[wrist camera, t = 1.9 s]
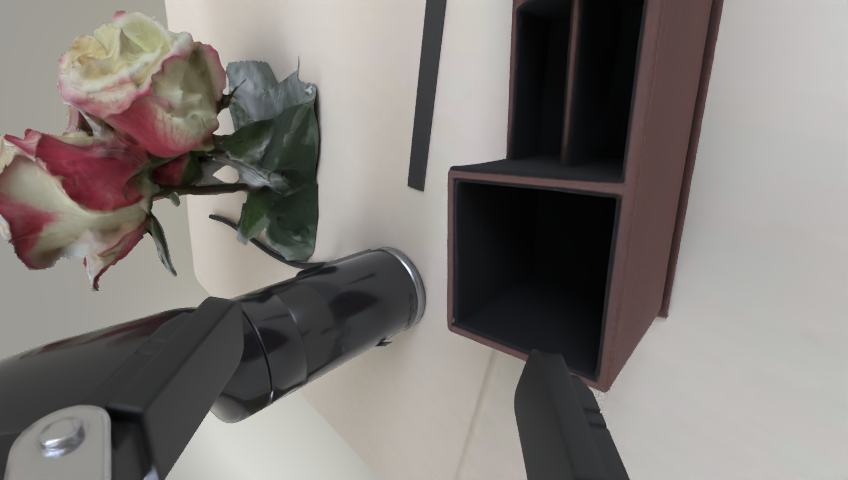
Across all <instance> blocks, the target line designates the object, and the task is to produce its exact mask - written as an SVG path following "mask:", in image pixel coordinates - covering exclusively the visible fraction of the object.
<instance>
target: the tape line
mask: <svg viewBox="0 0 848 480" xmlns="http://www.w3.org/2000/svg"><path fill="white" fill-rule="evenodd" d="M445 7H446V0H426V9H425V19H424V29H423V39H422V49H421V58H420V68H419V78H418V88H417V98H416V107H415V117H414V127H413V137H412V147H411V157H410V166H409V176H408V186H410V187H412V188H415V189H418V190H421V191H424V183H425V175H426V166H427V158H428V150H429V141H430V133H431V124H432V116H433V108H434V99H435V91H436V83H437V74H438V66H439V57H440V49H441V41H442V32H443V24H444V15H445Z"/></svg>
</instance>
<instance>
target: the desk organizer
mask: <svg viewBox="0 0 848 480" xmlns="http://www.w3.org/2000/svg"><path fill="white" fill-rule="evenodd" d="M722 6H723V0H513V11H512V32H511V56H510V80H509V109H508V131H507V156H506V159H503V160H498V161H492V162H486V163H480V164H473V165H465V166H453V167H451V168H450V170H449V172H448V239H447V246H448V283H447V321H448V329H449V330H450V331H451V332H454V333H456V334H459V335H461V336H464V337H467V338H469V339H472V340H474V341H476V342H479V343H481V344H484V345H487V346H489V347H492V348H494V349H497V350H499V351H502V352H504V353H507V354H509V355H512V356H514V357H517V358H519V359H522V360H524V361H527V359H528V356H529V354H530V352H531V351H532V350H533V349H536V350H542V351H548V352H554V353H560V354H561V355H562V356H563V358H564V360H565V363H566V365H567V368H568V371H569V373H570V375H576V376H579V377H580V378H581V379H582V380H583V382H584V383H585V384H586V385H588V386H590V387H592V388H595V389H597V390H599V391H602V392H604V393H605V392H607V391H608V390H610V387H611V385H612V384H613V382H614V380H615V379H616V377H617V376H618V374H619V373H620V371H621V369H622V368H623V366H624V365H625V363H626V362H627V360H628V358H629V357H630V356H631V354H632V352H633V351H634V349H635V348H636V346H637V344H638V343H639V341H640V340H641V338H642V337H643V336H644V334H645V333H646V331H647V330H648V328H649V326H650V325H651V323H652V322H653V320H654V319H655V317H656V316H657V317H663V318H667V317H668V307H669V302H670V296H671V291H672V286H673V280H674V274H675V268H676V263H677V258H678V253H679V247H680V241H681V235H682V230H683V225H684V219H685V214H686V209H687V203H688V197H689V192H690V184H691V179H692V174H693V169H694V164H695V159H696V153H697V147H698V142H699V136H700V131H701V123H702V118H703V113H704V108H705V101H706V95H707V90H708V84H709V79H710V74H711V69H712V63H713V58H714V51H715V45H716V41H717V35H718V30H719V24H720V19H721V12H722Z"/></svg>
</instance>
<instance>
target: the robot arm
mask: <svg viewBox="0 0 848 480" xmlns="http://www.w3.org/2000/svg"><path fill="white" fill-rule="evenodd" d="M209 218H211V219H214V220H217V221H220V222H223V223H225V224H227V225H229V226H231V227H232V228H234V229H235V228H236V229H235V230H236V231H237V229H238V228H237V227H236V226H237V225H236V224H234V223H233V222H231V221H229V220H227V219H225V218H222V217H219V216H215V215H212V214H211V215H209ZM250 241H251V242H252V243H253V244H255V245H256V246H257V247H259V248H260V249H261V250H263V251H264V252H266V253H267V254H269V255H270V256H272V257H274V258H276V259H277V260H279V261H281V262H283V263H285V264H288V265H290V266H293V267H297V268H301V269H305V270H302V271H300V272H298V273H297V275H296V277H294V278H291V279H288V280H285V281H282V282H279V283H276V284H273V285H270V286H267V287H264V288H261V289H258V290H255V291H252V292H249V293H246V294H243V295H240V296H237V297H234V298H231V299H223V298H217V297H208V298H207V299H205V300H204V301H203V302H202V303H201V305H200V306H199V307H189V308H179V309H173V310H168V311H164V312H160V313H156V314H153V315H149V316H146V317H142V318H138V319H135V320H131V321H127V322H124V323H120V324H116V325H113V326H109V327H106V328H101V329H97V330H94V331H90V332H86V333H82V334H78V335H75V336H71V337H67V338H63V339H60V340H57V341H53V342H50V343H46V344H42V345H39V346H36V347H33V348H30V349H28V350H24V351H21V352H19V353H16V354H13V355H11V356H8V357H6V358H3V359H1V360H0V480H165V478H166V476H167V475H168V473H169V472H170V470H171V469H172V467H173V466H174V464H175V463H176V461H177V459H178V458H179V456H180V455H181V453H182V452H183V450H184V449H185V447H186V445H187V444H188V442H189V441H190V439H191V438H192V436H193V435H194V433H195V432H196V430H197V429H198V427H199V425H200V424H201V422H202V421H203V419H204V418H205V416H206V415H207V413H208V412H209V410H210V411H211V412H212V413H213V414H214V415H215V416H216V417H217V418H218V419H220V420H221V421H223V422H226V423H236V422H239V421H241V420H244V419H246V418H247V417H249V416H251V415H253V414H255V413H256V412H258V411H260V410H262V409H263V408H265V407H267V406H269V405H271V404H273V403H274V402H276V401H278V400H280V399H281V398H283V397H285V396H287V395H289V394H291V393H292V392H294V391H296V390H298V389H299V388H301V387H303V386H305V385H306V384H308V383H310V382H312V381H313V380H315V379H317V378H319V377H321V376H322V375H324V374H326V373H328V372H329V371H331V370H333V369H335V368H337V367H338V366H340V365H342V364H344V363H345V362H347V361H349V360H351V359H353V358H354V357H356V356H358V355H360V354H362V353H363V352H365V351H367V350H369V349H370V348H372V347H374V346H386V345H388V344H389V343H391V342H383V341H385V340H386V339H388V338H390V337H392V336H394V335H395V334H397V333H399V332H400V331H403V330H406V329H408V328H410V327H412V326H413V325H415V324H416V323H417V322H418V321H419V320H420V318H421V317H422V314H423V311H424V306H425V294H424V288H423V284H422V281H421V279H420V276H419V274H418V272H417V270H416V268H415V267H414V265H413V264H412V263H411V261H410V260H409V259H408V258H407V257H406V256H405V255H404V254H402V253H401V252H399V251H398V250H395V249H393V248H389V247H383V248H379V249H376V250H373V251H372V250H371V249H368V250H365V251H362V252H358V253H355V254H352V255H349V256H346V257H343V258H340V259H337V260H334V261H330V262H320V263H300V262H296V261H292V260H286V259H285V257H283V256H281V255H279V254H277V253H275V252H274V251H272V250H270V249H269V248H267V247H266V246H264V245H263V244H262V243H260V242H259V241H258V240H256V239H255V238H251V239H250ZM514 409H515V415H516V421H517V426H518V431H519V436H520V442H521V447H522V452H523V458H524V463H525V468H526V473H527V479H528V480H630V479H629V477H628V474H627V472H626V470H625V467H624V465H623V463H622V460H621V458H620V456H619V453H618V451H617V449H616V446H615V444H614V442H613V439H612V437H611V434H610V432H609V430H608V429H607V428H606V423H605V420H604V418H603V416H602V414H600V409H599V406H598V404H597V402H596V399H595V397H594V394H593V392H592V391H591V390H590V389H589V388H588V386H587V385H586V384H585V383H584V382H583V380H582V379H581V378H580V377H579V376H576V375H570V373H569V371H568V368H567V365H566V363H565V360H564V358H563V356H562V355H561V354H560V353H554V352H548V351H542V350H536V349H533V350H532V351H531V352H530V354H529V356H528V359H527V361H526V364H525V367H524V369H523V372H522V375H521V377H520V380H519V382H518V385H517V388H516V392H515V399H514Z"/></svg>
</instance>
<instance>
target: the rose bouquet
mask: <svg viewBox="0 0 848 480" xmlns="http://www.w3.org/2000/svg"><path fill="white" fill-rule="evenodd" d="M226 68H227V70H226V73H225V70H224V69H223V67H222V65H221V63H220V59H219V55H218V52H217V51H216V50H215V49H213V48H212V46H211V45H207V44H202V43H201V42H193V39H192V36H191V34H190V33H188V32H181V33H174V32H171V31H167V30H166V29H165V28H164V27H163V26H162V25H161V24H160V23H159V22H158V21H157V20H156V19H155V16H153V17H148V16H146V15H144V14H142V13H140V12H125V11H117V12H115V14H114V16H113V18H112V24H111V23H109V24H108V26H107V25H105V24H103V25H102V26H101V27H100V28H99V29H96V30H95V32H94V37H90V36H85V35H82V36H78V37H76V38H75V39H74V42H73V44H72V45H71V47H70V48H69V51H68V52H67V53H64V54H62V55H61V57H60V59H59V76H58V77H59V80H58V85H57V88H58V91H59V92H60V94H61V96H62V100H63V103H64V104H67V105H68V113H67V122H68V127H67V130H66V132H65V133H64V134H63V135H62V136H56V135H50V134H45V133H40V132H38V131H33V130H31V129H26V130H25V138H24V140H23V139H20V138H18V137H15V136H11V135H7V134H3V135H0V233H1V235H2V236H3V238H5V240H6V241H8V243H12V244H11V245H13V247H12V248H13V250H14V251H15V253H16V254H17V257H18V259H20V260H21V261H22V262H23V263H24V264H25V266H26V267H27V268H28V269H29V270H39V269H46V268H51V267H53V266H54V265H55V263H56V261H57V260H59V259H60V257H66V258H68V259H71V258H72V257H73V256H74V257H76V258H84V265H85V270H86V272H87V273H88V275H89V277H90V279H89V282H90V284H91V286H92V291H98V289H97V288H99V285H98V283H97V282H98V281H99V277H100V276H101V275H102V274H103V273H104V272H105V271H106V270H107V269H108V268H109V267H110V265H115V264H116V263H117V262H118V261H119V260H121V259H123V258H124V257H126V256H127V255H128V253H129V252H130V251H131V250H132V249H133V247H134V246H136V245H137V243H138V242H139V241H140V240H141V239H142V238H143V235H144V234H146V233H147V232H148V233H149V234H150V235H151V236H152V237H153V239H154V241H155V243H156V246H157V251H158V255H159V258H160V259H161V261H162V263H163V264H164V265H165V267H166V268H167V270H168V271H169V272H170V274H171V275H173V276H176V275H177V273H176V271H175V269H174V267H173V266H172V263H171V259H170V255H169V251H168V246H167V242H166V239H165V235H164V231H163V229H162V226H161V224H160V223H159V222H158V220H157V219H156V217H155V216H154V215H153V214H152V212H151V209H152V205H153V201H156V200H159V199H163V198H168V199H170V200H171V202H172V203H173V205H175V206H179V204H180V201H179V196H180V195H187V194H192V195H218V194H222V193H234V192H236V191H243V192H245V193H246V194H247V201H246V203H243V206H242V212H241V217H240V220H239V222H238V224H237V226H236V227H237V228H238V229H237V232H238V234H237V235H238V236H237V239H238V241H239V242H241V243H243V244H244V245H246V244H247V242H248V241H249V240H250V239H251V238H254V237H258V236H259V235H260V233H261V231H262V230H263V229H264V228H266V229H267V231H266V241H265V242H267V244H268V245H269V246H270V247H271V248H273V249H275V250H277V251H278V252H280V253H281V254H282V256H284V257H285V259H286V260H302V261H307V260H308V258H309V257H310V255H311V254H312V253H313V252H314V245H315V237H316V229H317V219H318V214H317V189H318V186H317V184H316V183H315V179H316V178H315V166H316V162H317V156H318V145H319V134H318V123H317V119H316V116H315V112H314V107H313V106H314V101H315V97H316V87H315V85H314V84H312V85H311V84H310V83H307V84H305V83H304V82H301V81H300V80H299V79H298V78H297V75H298V70H297V71H296V72H295V73H293V74H292V75H291V76H289V77H288V78H286V79H285V80H283V81H282V82H280V83H279V84H278V83H277V81H276V79H275V77H274V75H273V73H272V71H271V69H270V67H269V65H268V63H266V62H261V61H260V62H258V61H245V62H244V61H240V62H238V63H237V62H232V63H230V62H229V63H228V66H227V67H226ZM298 68H299V56H298ZM226 74H227V76H228V79H229V95H224V94H223V93H222V92H223V89H225V88H226ZM228 107H229V109H230V113H231V116H232V120H233V124H234V129H235V132H234V133H233V134H231V135H222V136H220V135H215V134H213V132H214V131H216V130H217V129H218V128H219V125H220V124H219V122H218V120H217V116H218V114H219V113H220V111H221V110H223V109H224V108H228ZM225 165H228V166H231V167H233V168H235V169H237V171H238V174H239V180H238V181H237V182H236V183H225V182H223V181H221V180H219V179H218V178H216V177H214V176H212V175H213V174H214V173H215V172H216V171H218V170H219V169H221V168H222V167H224V166H225ZM235 229H236V228H235Z"/></svg>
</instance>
